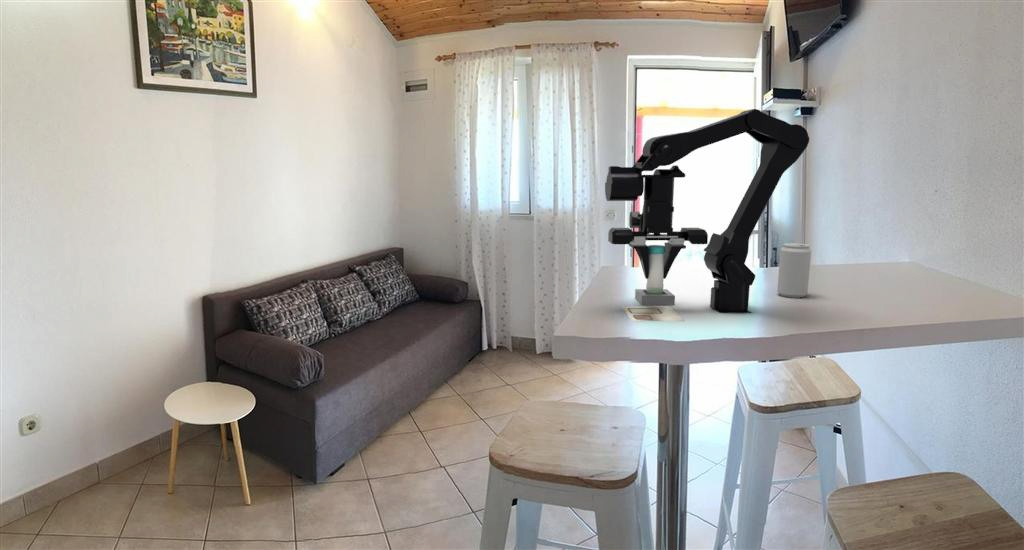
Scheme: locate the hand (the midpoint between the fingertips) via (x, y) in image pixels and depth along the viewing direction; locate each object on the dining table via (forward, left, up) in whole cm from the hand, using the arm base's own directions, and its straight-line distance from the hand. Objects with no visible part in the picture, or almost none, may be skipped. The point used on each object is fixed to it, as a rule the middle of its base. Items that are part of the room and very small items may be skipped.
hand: (655, 278), depth 121 cm
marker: (0, 0, -2) cm, 2 cm away
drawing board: (+1, +3, -7) cm, 8 cm away
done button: (-2, -8, -5) cm, 10 cm away
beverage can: (-36, -17, -7) cm, 40 cm away
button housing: (-2, -8, -7) cm, 11 cm away
